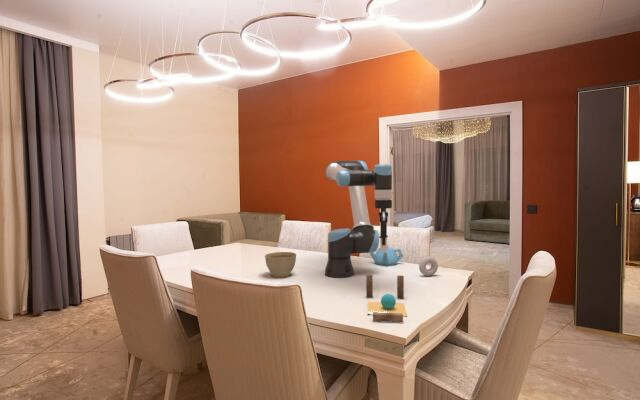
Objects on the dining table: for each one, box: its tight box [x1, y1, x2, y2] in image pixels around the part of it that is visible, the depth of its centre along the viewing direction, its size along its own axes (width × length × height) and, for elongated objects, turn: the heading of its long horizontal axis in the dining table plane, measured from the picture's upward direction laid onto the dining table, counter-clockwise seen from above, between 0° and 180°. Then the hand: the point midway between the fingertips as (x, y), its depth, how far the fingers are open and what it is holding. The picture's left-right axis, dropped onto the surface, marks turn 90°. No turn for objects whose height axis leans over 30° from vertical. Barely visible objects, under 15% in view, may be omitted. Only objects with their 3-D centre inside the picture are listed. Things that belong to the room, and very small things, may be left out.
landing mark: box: [366, 301, 408, 317], centre depth 137 cm, size 14×14×1 cm
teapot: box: [369, 244, 404, 267], centre depth 214 cm, size 15×15×11 cm
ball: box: [380, 293, 397, 309], centre depth 138 cm, size 6×6×6 cm
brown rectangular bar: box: [372, 312, 404, 323], centre depth 125 cm, size 10×2×2 cm, turn 82°
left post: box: [365, 274, 374, 299], centre depth 152 cm, size 3×3×9 cm
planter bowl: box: [264, 251, 297, 278], centre depth 190 cm, size 16×16×11 cm
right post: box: [396, 274, 405, 300], centre depth 150 cm, size 3×3×9 cm
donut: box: [418, 255, 439, 277], centre depth 184 cm, size 10×3×10 cm, turn 102°
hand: (383, 252), depth 163 cm, fingers closed
